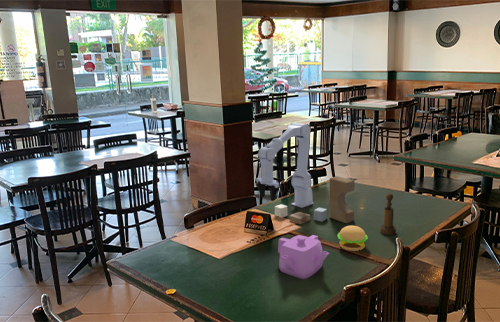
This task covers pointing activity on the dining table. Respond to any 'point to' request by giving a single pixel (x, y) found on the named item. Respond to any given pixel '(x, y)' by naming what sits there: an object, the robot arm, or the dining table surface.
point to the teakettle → (301, 256)
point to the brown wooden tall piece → (388, 218)
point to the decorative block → (340, 199)
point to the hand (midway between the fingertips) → (267, 198)
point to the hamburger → (352, 238)
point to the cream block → (281, 210)
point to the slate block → (320, 214)
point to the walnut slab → (300, 217)
